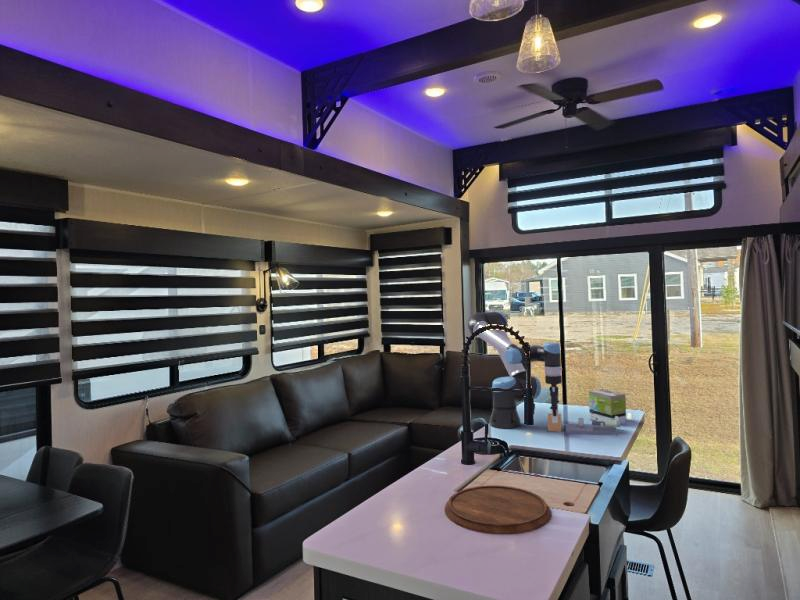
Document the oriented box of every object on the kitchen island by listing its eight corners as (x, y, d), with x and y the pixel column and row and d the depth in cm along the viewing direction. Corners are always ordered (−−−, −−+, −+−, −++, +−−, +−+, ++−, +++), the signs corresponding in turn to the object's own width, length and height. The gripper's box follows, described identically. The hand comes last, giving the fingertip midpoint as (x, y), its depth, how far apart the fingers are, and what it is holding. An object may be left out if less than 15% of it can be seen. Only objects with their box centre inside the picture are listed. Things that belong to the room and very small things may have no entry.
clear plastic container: (565, 432, 243) (565, 421, 243) (565, 426, 254) (565, 415, 254) (616, 435, 236) (616, 423, 236) (614, 428, 248) (614, 416, 248)
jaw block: (548, 430, 247) (547, 416, 247) (548, 427, 253) (548, 413, 253) (561, 431, 245) (560, 416, 245) (561, 428, 251) (561, 413, 251)
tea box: (588, 419, 266) (588, 390, 266) (603, 417, 270) (602, 388, 270) (612, 425, 253) (611, 395, 252) (627, 423, 257) (626, 393, 257)
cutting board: (478, 485, 182) (478, 477, 182) (568, 506, 162) (567, 497, 162) (423, 517, 157) (423, 508, 157) (521, 546, 137) (521, 537, 137)
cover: (605, 426, 239) (605, 420, 239) (604, 422, 247) (604, 415, 247) (619, 427, 237) (619, 420, 237) (617, 422, 245) (617, 416, 245)
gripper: (561, 378, 236) (563, 425, 236) (561, 371, 260) (563, 414, 259) (544, 378, 238) (546, 425, 238) (546, 371, 262) (548, 413, 262)
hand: (555, 419), depth 249 cm, fingers open, 13 cm apart
